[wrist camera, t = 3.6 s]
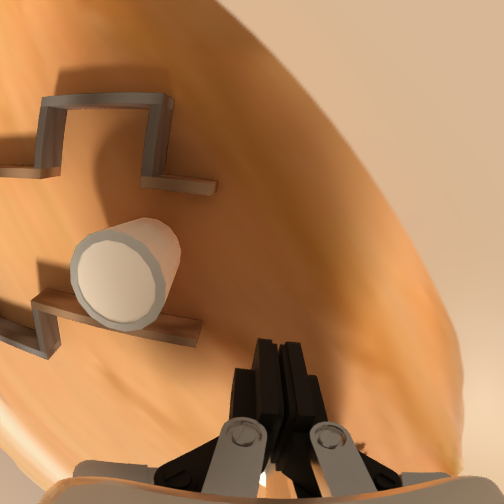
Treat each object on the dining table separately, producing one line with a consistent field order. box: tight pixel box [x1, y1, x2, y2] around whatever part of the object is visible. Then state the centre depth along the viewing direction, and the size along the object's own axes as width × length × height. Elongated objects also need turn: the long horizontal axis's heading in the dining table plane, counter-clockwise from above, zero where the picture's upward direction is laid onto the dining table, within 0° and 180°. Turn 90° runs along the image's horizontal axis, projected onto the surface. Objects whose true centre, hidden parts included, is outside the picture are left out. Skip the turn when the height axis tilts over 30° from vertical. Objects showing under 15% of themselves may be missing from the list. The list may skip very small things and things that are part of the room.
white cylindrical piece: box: [70, 217, 181, 332], centre depth 21 cm, size 7×7×7 cm
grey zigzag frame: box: [0, 92, 218, 360], centre depth 22 cm, size 32×24×4 cm
